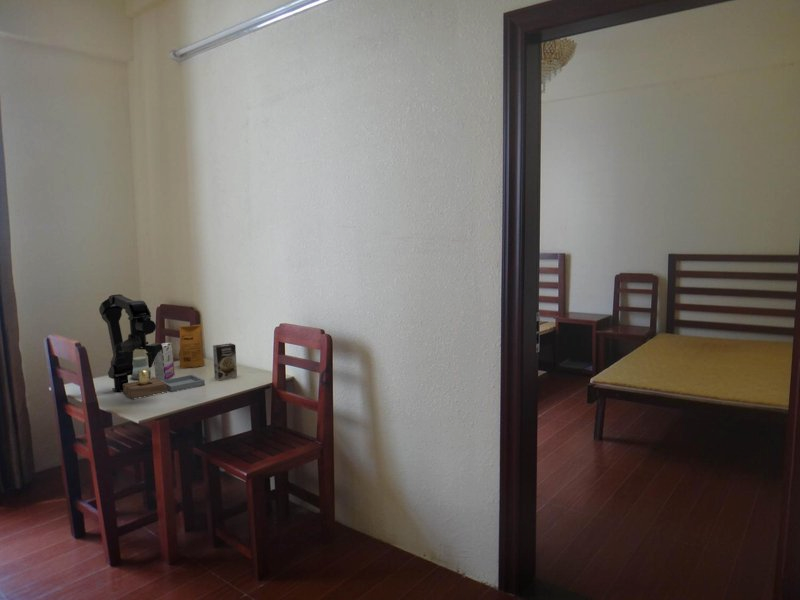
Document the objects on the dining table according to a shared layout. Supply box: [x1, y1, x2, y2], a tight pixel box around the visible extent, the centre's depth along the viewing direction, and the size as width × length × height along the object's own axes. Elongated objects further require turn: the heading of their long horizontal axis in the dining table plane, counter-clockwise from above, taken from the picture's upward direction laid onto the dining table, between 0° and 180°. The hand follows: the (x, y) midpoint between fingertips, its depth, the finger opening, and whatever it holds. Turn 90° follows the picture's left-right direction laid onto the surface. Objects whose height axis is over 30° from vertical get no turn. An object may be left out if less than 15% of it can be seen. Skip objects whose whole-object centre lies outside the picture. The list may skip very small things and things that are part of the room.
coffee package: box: [178, 323, 205, 369], centre depth 289 cm, size 10×12×22 cm
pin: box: [138, 369, 150, 386], centre depth 242 cm, size 4×4×10 cm
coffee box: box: [212, 342, 238, 382], centre depth 263 cm, size 9×6×16 cm
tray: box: [161, 374, 206, 393], centre depth 252 cm, size 14×15×2 cm
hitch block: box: [122, 377, 168, 400], centre depth 242 cm, size 14×14×4 cm
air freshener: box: [130, 356, 152, 380], centre depth 268 cm, size 11×8×10 cm
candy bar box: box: [153, 342, 175, 380], centre depth 265 cm, size 11×5×16 cm, turn 0°
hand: (140, 367), depth 234 cm, fingers open, 9 cm apart
